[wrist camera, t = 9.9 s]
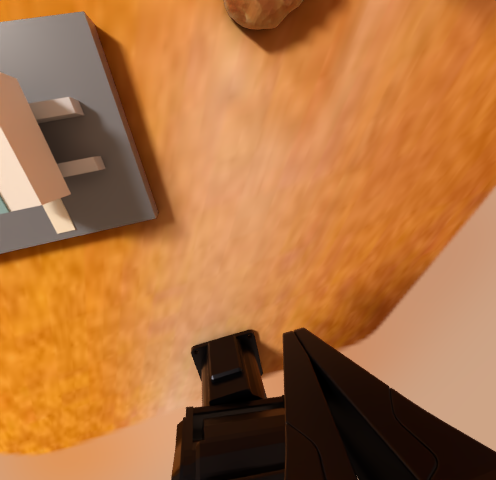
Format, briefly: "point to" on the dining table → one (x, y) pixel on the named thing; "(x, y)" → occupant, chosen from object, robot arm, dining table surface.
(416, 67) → the dining table surface
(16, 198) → the block
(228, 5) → the pastry
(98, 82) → the grey slider panel
